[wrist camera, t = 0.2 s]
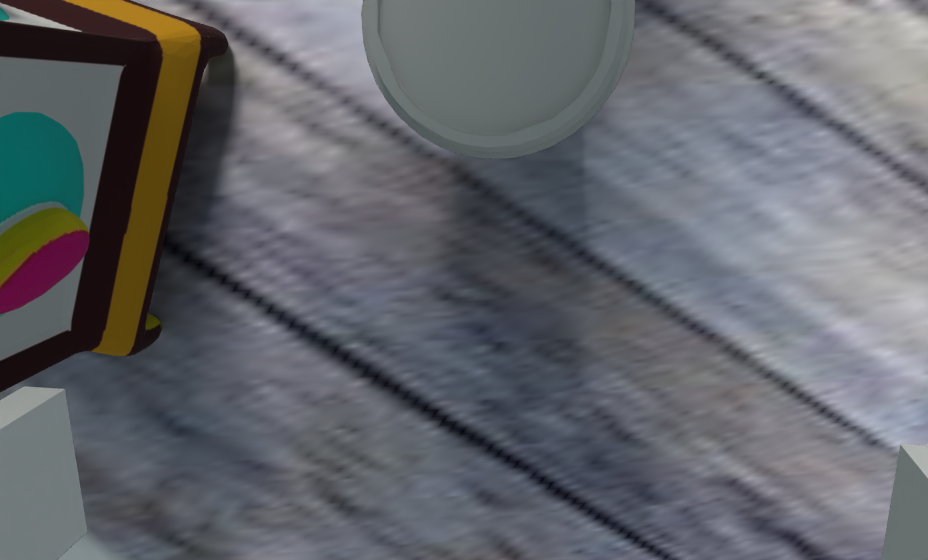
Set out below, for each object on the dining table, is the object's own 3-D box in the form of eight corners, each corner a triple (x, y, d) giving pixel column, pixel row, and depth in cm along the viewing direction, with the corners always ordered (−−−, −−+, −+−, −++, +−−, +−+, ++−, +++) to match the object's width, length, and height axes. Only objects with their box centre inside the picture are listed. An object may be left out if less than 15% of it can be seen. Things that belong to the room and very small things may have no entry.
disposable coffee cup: (658, 49, 36) (699, 26, 25) (506, 182, 39) (478, 217, 27) (527, -110, 35) (505, -212, 24) (380, 35, 38) (295, 7, 26)
